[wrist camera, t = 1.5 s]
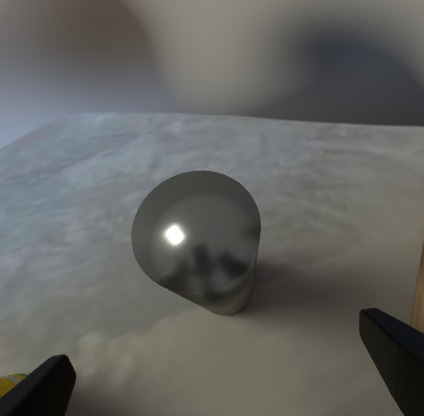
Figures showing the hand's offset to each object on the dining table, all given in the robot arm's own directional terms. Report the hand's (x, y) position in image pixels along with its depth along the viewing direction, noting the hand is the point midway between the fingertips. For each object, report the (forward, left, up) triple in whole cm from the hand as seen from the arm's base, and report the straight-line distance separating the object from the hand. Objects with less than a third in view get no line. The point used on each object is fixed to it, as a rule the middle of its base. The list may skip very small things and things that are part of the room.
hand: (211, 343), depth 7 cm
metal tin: (+3, -1, -12) cm, 12 cm away
